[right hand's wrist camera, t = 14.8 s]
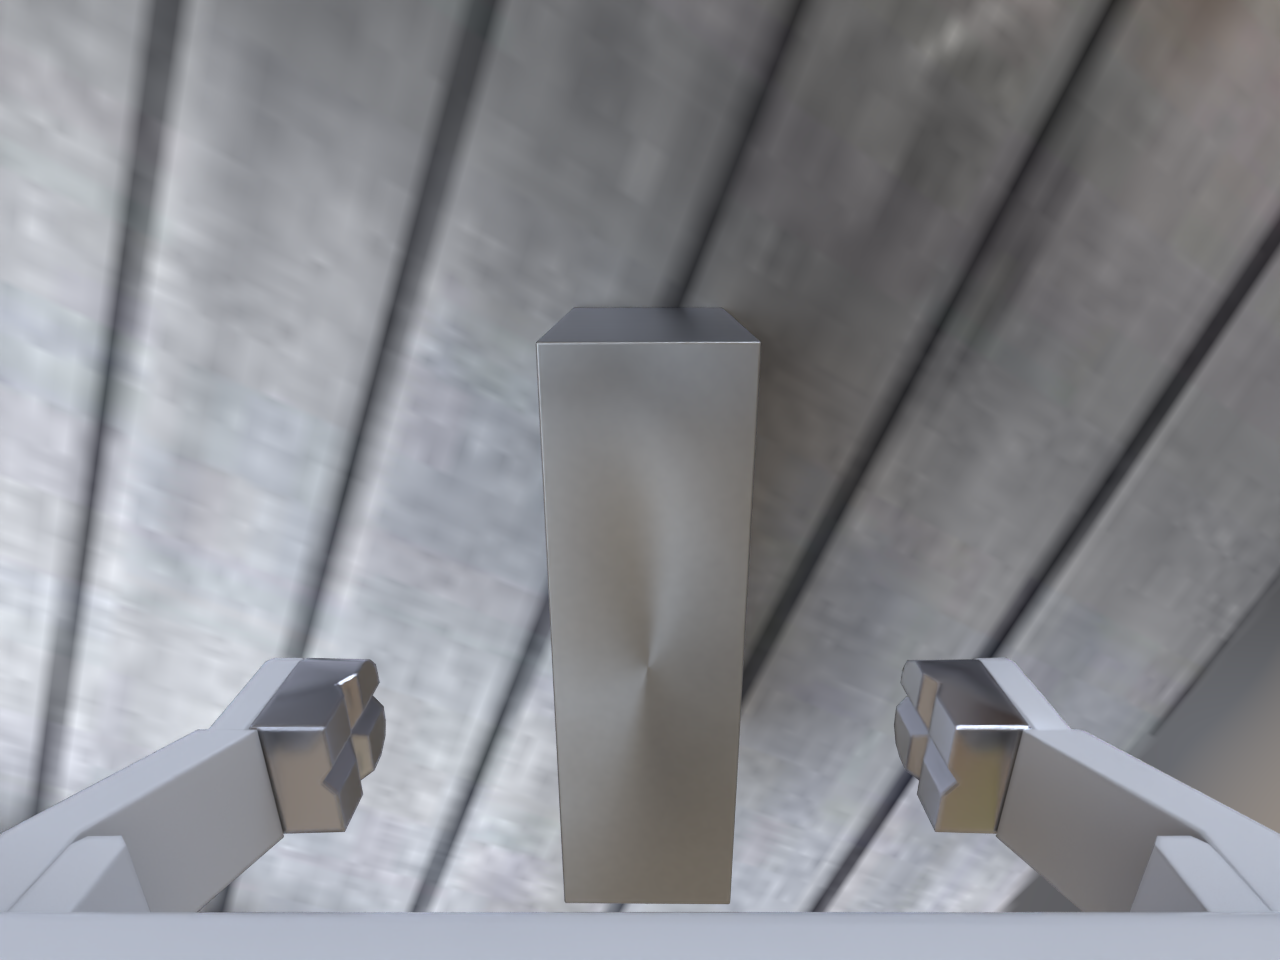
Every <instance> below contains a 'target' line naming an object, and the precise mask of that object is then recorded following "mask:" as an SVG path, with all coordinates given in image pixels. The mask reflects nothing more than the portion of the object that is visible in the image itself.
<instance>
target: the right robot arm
mask: <svg viewBox="0 0 1280 960" xmlns="http://www.w3.org/2000/svg"><path fill="white" fill-rule="evenodd" d="M379 683H380V682H379V677H378V673H377V668H376V664H375V663H374V662H372V661H371V660H370V659H328V658H306V659H304V658H273V659H271V660H268V661H266V662H265V663H264V664H263V665H262V666H261V668H260V669H259V670H258V671H257V672H256V673H255V675H254V676H253V677H252V678H251V679H250V681H249V682H248V683H247V684H246V685H245V687H244V688H243V689H242V690H241V691H240V692H239V694H238V695H237V696H236V697H235V698H234V700H233V701H232V702H231V703H230V704H229V706H228V707H227V708H226V709H225V710H224V711H223V713H222V714H221V715H220V716H219V717H218V719H217V720H216V721H215V722H214V723H213V724H212V726H211V727H210V728H209V729H208V730H196V731H194V732H192V733H190V734H188V735H186V736H185V737H183V738H181V739H179V740H177V741H175V742H173V743H171V744H169V745H167V746H166V747H164V748H162V749H160V750H158V751H156V752H154V753H152V754H150V755H148V756H147V757H145V758H143V759H141V760H139V761H137V762H135V763H133V764H131V765H130V766H128V767H126V768H124V769H122V770H120V771H118V772H116V773H114V774H112V775H111V776H109V777H107V778H105V779H103V780H101V781H99V782H97V783H95V784H93V785H92V786H90V787H88V788H86V789H84V790H82V791H80V792H78V793H76V794H75V795H73V796H71V797H69V798H67V799H65V800H63V801H61V802H59V803H57V804H56V805H54V806H52V807H50V808H48V809H46V810H44V811H42V812H40V813H38V814H37V815H35V816H33V817H31V818H29V819H27V820H25V821H23V822H21V823H20V824H18V825H16V826H14V827H12V828H10V829H8V830H6V831H4V832H2V833H1V834H0V960H1280V834H1279V833H1277V832H1275V831H1273V830H1271V829H1269V828H1268V827H1266V826H1264V825H1262V824H1260V823H1258V822H1256V821H1254V820H1252V819H1251V818H1249V817H1247V816H1245V815H1243V814H1241V813H1239V812H1237V811H1235V810H1233V809H1232V808H1230V807H1228V806H1226V805H1224V804H1222V803H1220V802H1218V801H1216V800H1215V799H1213V798H1211V797H1209V796H1207V795H1205V794H1203V793H1201V792H1199V791H1198V790H1196V789H1194V788H1192V787H1190V786H1188V785H1186V784H1184V783H1182V782H1181V781H1179V780H1177V779H1175V778H1173V777H1171V776H1169V775H1167V774H1165V773H1163V772H1162V771H1160V770H1158V769H1156V768H1154V767H1152V766H1150V765H1148V764H1146V763H1145V762H1143V761H1141V760H1139V759H1137V758H1135V757H1133V756H1131V755H1129V754H1128V753H1126V752H1124V751H1122V750H1120V749H1118V748H1116V747H1114V746H1112V745H1111V744H1109V743H1107V742H1105V741H1103V740H1101V739H1099V738H1097V737H1095V736H1094V735H1092V734H1090V733H1088V732H1086V731H1084V730H1072V729H1071V728H1070V727H1069V726H1068V725H1067V723H1066V722H1065V721H1064V720H1063V719H1062V717H1061V716H1060V715H1059V714H1058V713H1057V712H1056V710H1055V709H1054V708H1053V707H1052V706H1051V704H1050V703H1049V702H1048V701H1047V700H1046V698H1045V697H1044V696H1043V695H1042V694H1041V693H1040V691H1039V690H1038V689H1037V688H1036V687H1035V685H1034V684H1033V683H1032V682H1031V681H1030V680H1029V678H1028V677H1027V676H1026V675H1025V674H1024V672H1023V671H1022V670H1021V669H1020V668H1019V666H1018V665H1017V664H1016V663H1015V662H1014V661H1012V660H1010V659H1008V658H974V659H972V660H907V662H906V664H905V666H904V668H903V671H902V677H901V682H900V683H901V684H902V686H903V688H904V690H905V692H906V694H907V696H906V697H905V698H904V699H903V700H902V701H901V702H900V703H899V704H898V705H897V706H896V714H895V722H894V729H895V741H896V746H897V750H898V753H899V757H900V759H901V761H902V763H903V766H904V768H905V770H906V771H907V772H909V773H910V774H911V775H913V776H914V777H915V778H917V779H918V780H919V785H918V791H917V795H918V797H919V799H920V801H921V804H922V806H923V808H924V810H925V812H926V814H927V816H928V818H929V820H930V822H931V824H932V826H933V828H934V830H935V832H958V833H993V834H996V837H997V838H998V839H999V840H1001V841H1002V842H1003V843H1004V844H1005V845H1006V846H1007V847H1009V848H1010V849H1011V850H1012V851H1013V852H1014V853H1016V854H1017V855H1018V856H1019V857H1020V858H1021V859H1022V860H1024V861H1025V862H1026V863H1027V864H1028V865H1029V866H1031V867H1032V868H1033V869H1034V870H1035V871H1036V872H1037V873H1039V874H1040V875H1041V876H1042V877H1043V878H1044V879H1046V880H1047V881H1048V882H1049V883H1050V884H1051V885H1052V886H1054V887H1055V888H1056V889H1057V890H1058V891H1059V892H1060V893H1062V894H1063V895H1064V896H1065V897H1066V898H1067V899H1069V900H1070V901H1071V902H1072V903H1073V904H1074V905H1075V906H1077V907H1078V908H1079V909H1080V910H1081V911H1082V912H979V913H939V912H198V911H199V910H200V909H201V908H202V907H204V906H205V905H206V904H207V903H208V902H209V901H211V900H212V899H213V898H214V897H215V896H216V895H217V894H219V893H220V892H221V891H222V890H223V889H224V888H226V887H227V886H228V885H229V884H230V883H231V882H232V881H234V880H235V879H236V878H237V877H238V876H239V875H241V874H242V873H243V872H244V871H245V870H246V869H247V868H249V867H250V866H251V865H252V864H253V863H254V862H256V861H257V860H258V859H259V858H260V857H261V856H262V855H264V854H265V853H266V852H267V851H268V850H269V849H271V848H272V847H273V846H274V845H275V844H276V843H277V842H279V841H280V840H281V839H282V838H283V837H284V834H287V833H321V832H345V830H346V828H347V826H348V824H349V822H350V820H351V818H352V816H353V814H354V812H355V810H356V808H357V806H358V804H359V801H360V799H361V797H362V795H363V791H362V785H361V780H362V779H363V778H365V777H366V776H367V775H369V774H370V773H371V772H373V771H374V770H375V768H376V766H377V763H378V761H379V759H380V757H381V754H382V749H383V745H384V740H385V730H386V719H385V713H384V706H383V705H382V704H381V703H380V702H379V701H378V700H377V699H376V698H375V697H374V696H373V694H374V692H375V690H376V688H377V686H378V684H379Z"/></svg>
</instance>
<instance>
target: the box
mask: <svg viewBox="0 0 1280 960" xmlns="http://www.w3.org/2000/svg"><path fill="white" fill-rule="evenodd" d="M760 358H761V342H760V341H759V340H758V339H757V338H756V337H754V336H753V335H752V334H751V333H750V332H749V331H748V330H747V329H746V328H744V327H743V326H742V325H741V324H740V323H739V322H738V321H737V320H735V319H734V318H733V317H732V316H731V315H730V314H729V313H728V312H727V311H725V310H724V309H723V308H573V309H572V310H571V311H570V312H568V313H567V314H566V315H565V316H564V317H563V318H562V319H561V320H560V321H559V322H558V323H557V324H556V325H554V326H553V327H552V328H551V329H550V330H549V331H548V332H547V333H546V334H545V335H544V336H543V337H542V338H540V339H539V340H538V341H537V342H536V359H537V378H538V397H539V417H540V436H541V456H542V475H543V494H544V514H545V533H546V552H547V572H548V591H549V610H550V630H551V649H552V668H553V688H554V707H555V727H556V746H557V765H558V785H559V804H560V823H561V843H562V862H563V881H564V901H565V903H648V904H730V896H731V878H732V860H733V842H734V824H735V806H736V788H737V770H738V752H739V735H740V717H741V699H742V681H743V663H744V645H745V627H746V609H747V591H748V573H749V555H750V538H751V520H752V502H753V484H754V466H755V448H756V430H757V412H758V394H759V376H760Z"/></svg>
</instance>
